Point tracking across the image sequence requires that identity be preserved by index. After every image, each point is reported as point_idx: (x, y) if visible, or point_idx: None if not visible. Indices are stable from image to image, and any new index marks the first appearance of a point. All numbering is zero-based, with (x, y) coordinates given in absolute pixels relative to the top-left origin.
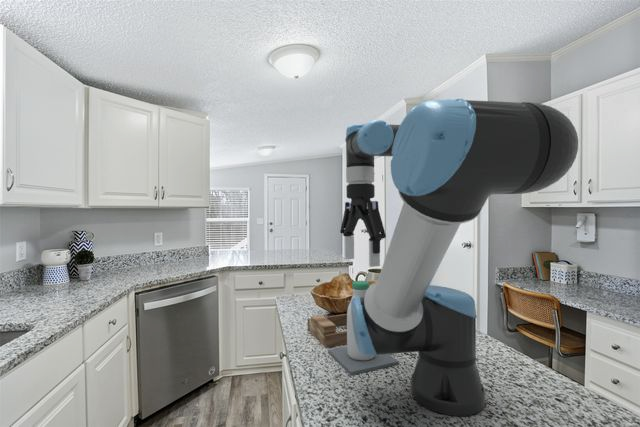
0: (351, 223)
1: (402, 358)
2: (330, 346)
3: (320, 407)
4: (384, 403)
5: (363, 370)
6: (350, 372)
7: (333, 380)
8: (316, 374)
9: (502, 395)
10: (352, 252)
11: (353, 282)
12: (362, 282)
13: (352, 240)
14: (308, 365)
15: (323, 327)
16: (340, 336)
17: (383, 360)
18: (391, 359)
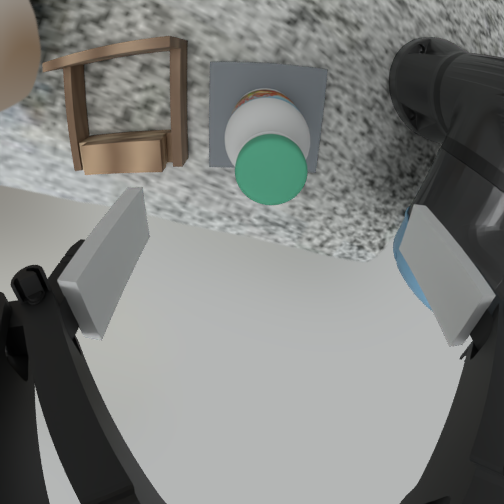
0: (126, 449)
1: (307, 44)
2: (187, 150)
3: (358, 245)
4: (401, 174)
5: (318, 147)
6: (313, 171)
7: (312, 202)
8: (281, 217)
9: (467, 31)
10: (130, 217)
11: (259, 200)
12: (282, 172)
13: (96, 270)
14: (245, 216)
15: (160, 171)
16: (182, 130)
17: (309, 92)
18: (313, 75)
